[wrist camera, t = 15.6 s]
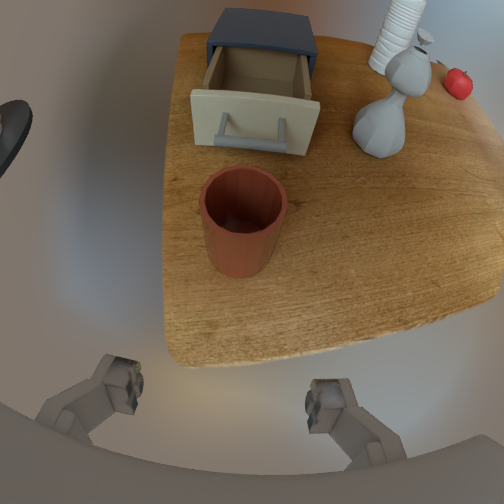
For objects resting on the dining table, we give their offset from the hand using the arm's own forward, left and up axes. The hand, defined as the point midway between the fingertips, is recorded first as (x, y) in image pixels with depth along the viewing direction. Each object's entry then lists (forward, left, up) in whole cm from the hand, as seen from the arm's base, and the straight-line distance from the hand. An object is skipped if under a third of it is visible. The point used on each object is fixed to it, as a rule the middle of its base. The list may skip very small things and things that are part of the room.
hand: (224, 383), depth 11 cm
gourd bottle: (+17, +30, -15) cm, 38 cm away
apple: (+48, +60, -15) cm, 79 cm away
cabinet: (0, +45, -15) cm, 48 cm away
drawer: (0, +30, -14) cm, 33 cm away
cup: (0, +12, -15) cm, 19 cm away
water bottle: (+26, +56, -15) cm, 64 cm away
